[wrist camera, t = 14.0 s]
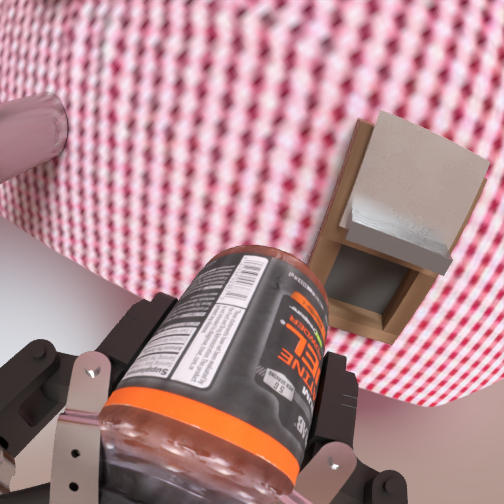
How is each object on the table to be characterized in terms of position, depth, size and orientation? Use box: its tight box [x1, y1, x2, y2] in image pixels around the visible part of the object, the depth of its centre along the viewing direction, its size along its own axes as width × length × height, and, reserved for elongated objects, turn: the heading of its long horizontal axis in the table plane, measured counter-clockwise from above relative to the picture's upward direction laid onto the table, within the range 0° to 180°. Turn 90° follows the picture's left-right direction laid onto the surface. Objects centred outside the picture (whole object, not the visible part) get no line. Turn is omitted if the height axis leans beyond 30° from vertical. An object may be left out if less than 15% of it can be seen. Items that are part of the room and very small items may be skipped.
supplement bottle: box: [97, 245, 329, 504], centre depth 9 cm, size 6×6×11 cm
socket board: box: [307, 118, 487, 345], centre depth 28 cm, size 12×20×3 cm, turn 168°
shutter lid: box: [339, 109, 490, 276], centre depth 22 cm, size 10×10×3 cm
